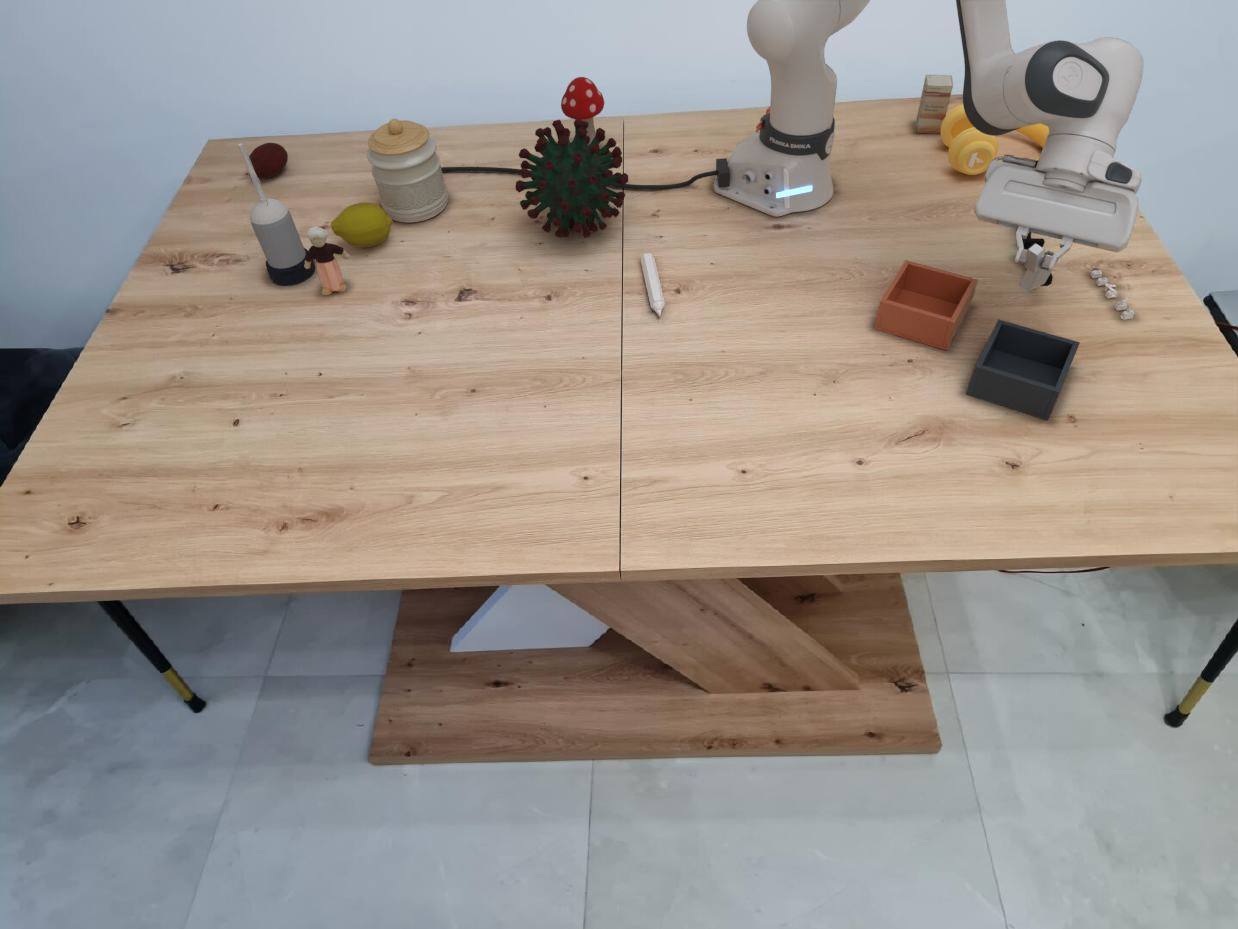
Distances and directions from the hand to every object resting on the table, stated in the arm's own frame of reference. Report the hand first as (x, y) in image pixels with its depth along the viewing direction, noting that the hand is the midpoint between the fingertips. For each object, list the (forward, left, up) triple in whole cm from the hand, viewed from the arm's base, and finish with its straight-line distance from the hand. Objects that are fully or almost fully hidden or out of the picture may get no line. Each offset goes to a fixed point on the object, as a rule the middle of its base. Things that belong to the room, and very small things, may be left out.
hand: (1033, 266), depth 124 cm
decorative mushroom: (-91, +24, -17) cm, 95 cm away
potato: (-147, -11, -17) cm, 148 cm away
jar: (-111, -7, -17) cm, 112 cm away
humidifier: (-118, -34, -17) cm, 123 cm away
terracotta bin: (-14, +3, -17) cm, 22 cm away
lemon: (-111, -21, -17) cm, 114 cm away
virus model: (-78, 0, -17) cm, 79 cm away
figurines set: (+11, +21, -17) cm, 29 cm away
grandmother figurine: (-107, -34, -17) cm, 113 cm away
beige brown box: (-32, +60, -17) cm, 70 cm away
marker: (-56, -10, -17) cm, 59 cm away
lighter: (0, +2, -5) cm, 5 cm away
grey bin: (+3, -5, -17) cm, 18 cm away
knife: (-4, +28, -17) cm, 33 cm away
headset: (-17, +54, -17) cm, 59 cm away
